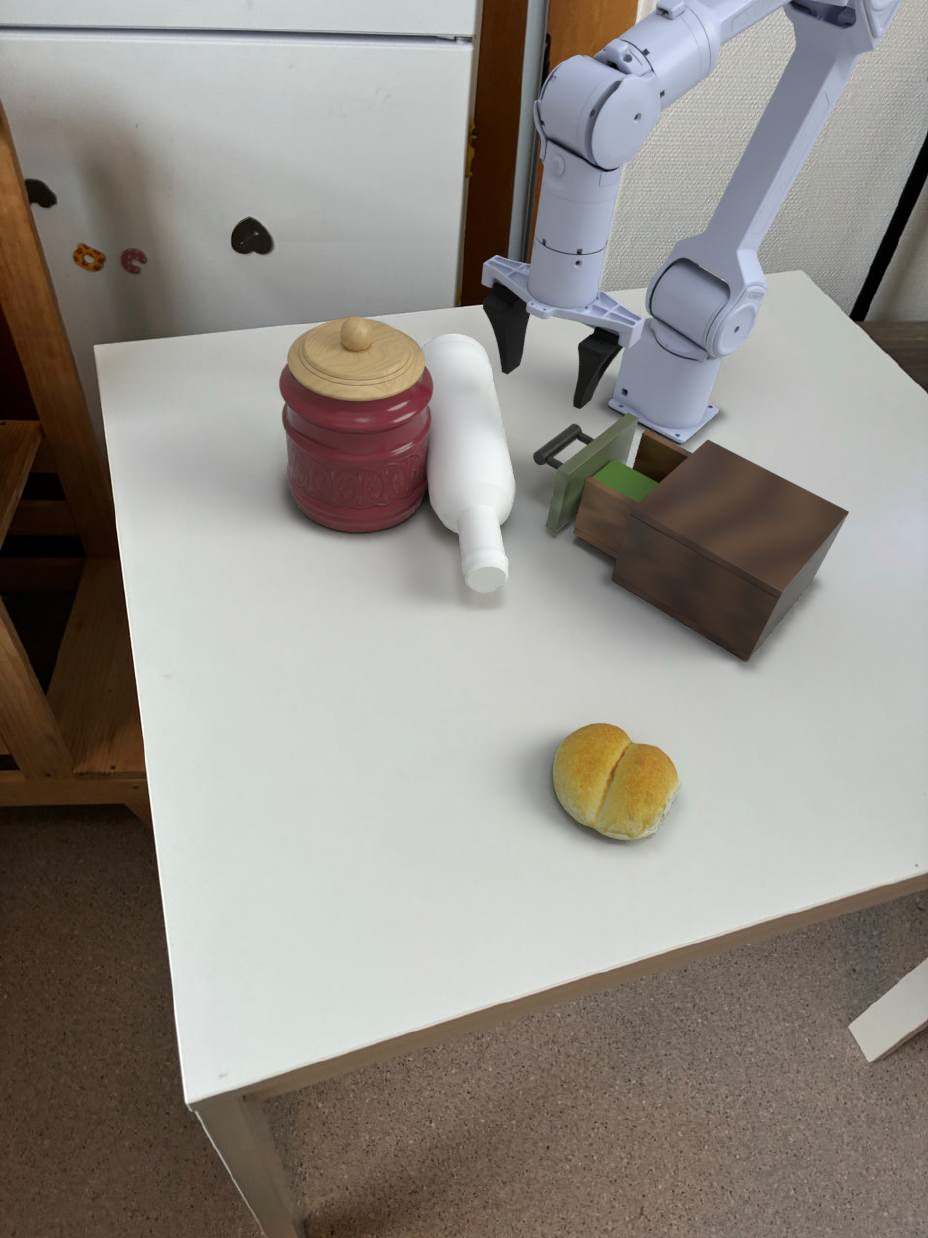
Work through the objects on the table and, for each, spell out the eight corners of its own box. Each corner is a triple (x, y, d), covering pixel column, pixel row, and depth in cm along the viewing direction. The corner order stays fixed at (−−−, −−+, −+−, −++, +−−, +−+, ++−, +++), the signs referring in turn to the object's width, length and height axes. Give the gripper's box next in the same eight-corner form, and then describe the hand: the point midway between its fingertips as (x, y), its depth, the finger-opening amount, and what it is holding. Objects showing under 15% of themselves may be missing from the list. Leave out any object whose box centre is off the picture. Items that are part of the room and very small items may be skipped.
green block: (580, 506, 83) (586, 480, 81) (607, 483, 85) (613, 458, 83) (640, 540, 80) (647, 515, 78) (665, 515, 83) (674, 491, 81)
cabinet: (611, 579, 80) (632, 507, 73) (682, 510, 87) (707, 438, 80) (747, 662, 75) (782, 592, 68) (811, 582, 81) (849, 511, 75)
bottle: (501, 379, 94) (549, 590, 75) (433, 409, 96) (463, 623, 77) (470, 318, 89) (513, 531, 69) (399, 351, 91) (422, 567, 71)
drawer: (509, 504, 84) (518, 446, 79) (578, 449, 90) (591, 392, 85) (661, 596, 78) (682, 539, 72) (725, 530, 84) (748, 473, 79)
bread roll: (580, 721, 69) (590, 690, 66) (686, 780, 67) (701, 750, 64) (526, 798, 65) (534, 768, 62) (638, 865, 62) (652, 837, 59)
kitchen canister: (318, 552, 79) (307, 380, 66) (269, 463, 86) (250, 292, 73) (450, 514, 84) (465, 346, 70) (393, 433, 91) (397, 267, 78)
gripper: (466, 222, 70) (454, 372, 81) (626, 289, 65) (592, 440, 76) (516, 194, 74) (498, 340, 85) (671, 255, 69) (633, 403, 80)
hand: (545, 385), depth 80 cm, fingers open, 7 cm apart
